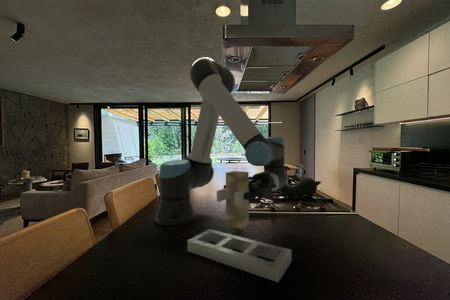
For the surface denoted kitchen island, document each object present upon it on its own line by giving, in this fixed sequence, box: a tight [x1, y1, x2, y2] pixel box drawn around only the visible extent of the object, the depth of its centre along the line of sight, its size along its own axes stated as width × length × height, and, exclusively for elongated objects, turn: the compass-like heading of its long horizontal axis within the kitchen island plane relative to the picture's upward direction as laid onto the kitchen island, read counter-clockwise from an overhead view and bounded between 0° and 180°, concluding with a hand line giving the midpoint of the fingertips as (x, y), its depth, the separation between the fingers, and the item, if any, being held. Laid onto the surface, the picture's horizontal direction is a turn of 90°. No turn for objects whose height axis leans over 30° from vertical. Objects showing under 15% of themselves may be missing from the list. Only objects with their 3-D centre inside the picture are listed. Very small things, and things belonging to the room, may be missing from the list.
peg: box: [225, 170, 250, 230], centre depth 58 cm, size 4×4×14 cm
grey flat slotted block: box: [186, 228, 293, 283], centre depth 58 cm, size 26×10×3 cm, turn 57°
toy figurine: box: [276, 165, 322, 199], centre depth 122 cm, size 10×19×26 cm
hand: (226, 197), depth 53 cm, fingers closed on peg, 4 cm apart
